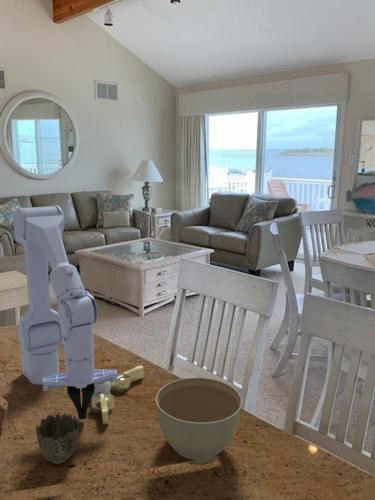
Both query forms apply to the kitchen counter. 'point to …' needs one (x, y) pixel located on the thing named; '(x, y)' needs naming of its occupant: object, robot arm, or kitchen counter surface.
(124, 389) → the back knob
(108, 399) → the front knob
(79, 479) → the kitchen counter surface
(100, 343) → the kitchen counter surface
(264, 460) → the kitchen counter surface
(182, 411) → the planter bowl
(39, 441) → the cup
